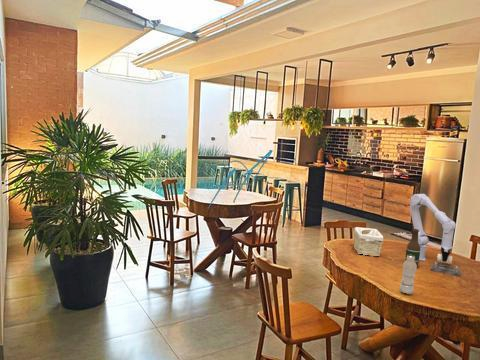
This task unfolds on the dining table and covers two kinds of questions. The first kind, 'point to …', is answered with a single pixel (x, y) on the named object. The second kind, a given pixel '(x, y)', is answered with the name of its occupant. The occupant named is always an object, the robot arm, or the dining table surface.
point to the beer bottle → (414, 247)
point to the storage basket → (367, 241)
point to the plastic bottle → (408, 275)
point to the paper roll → (449, 261)
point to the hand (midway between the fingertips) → (444, 260)
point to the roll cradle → (446, 269)
